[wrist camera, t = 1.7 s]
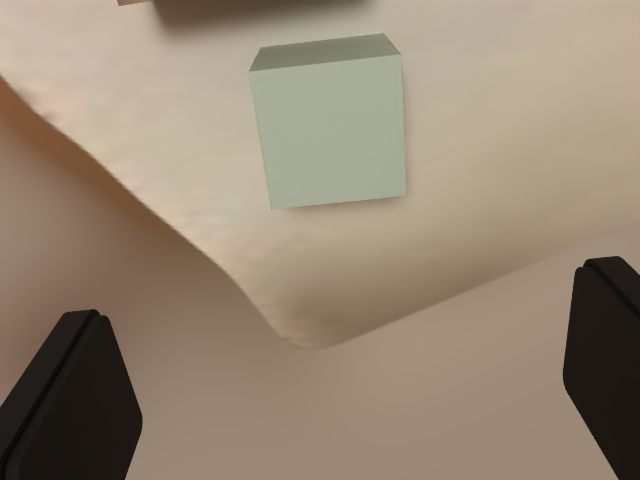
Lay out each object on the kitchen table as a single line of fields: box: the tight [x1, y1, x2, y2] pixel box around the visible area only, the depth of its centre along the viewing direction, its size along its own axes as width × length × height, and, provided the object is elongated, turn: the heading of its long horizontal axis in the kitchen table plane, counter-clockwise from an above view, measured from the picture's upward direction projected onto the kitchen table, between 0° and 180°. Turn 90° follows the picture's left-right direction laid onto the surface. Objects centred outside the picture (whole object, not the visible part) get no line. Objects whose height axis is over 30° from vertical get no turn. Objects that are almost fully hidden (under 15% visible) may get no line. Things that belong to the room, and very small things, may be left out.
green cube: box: [249, 33, 407, 210], centre depth 26 cm, size 6×6×6 cm
